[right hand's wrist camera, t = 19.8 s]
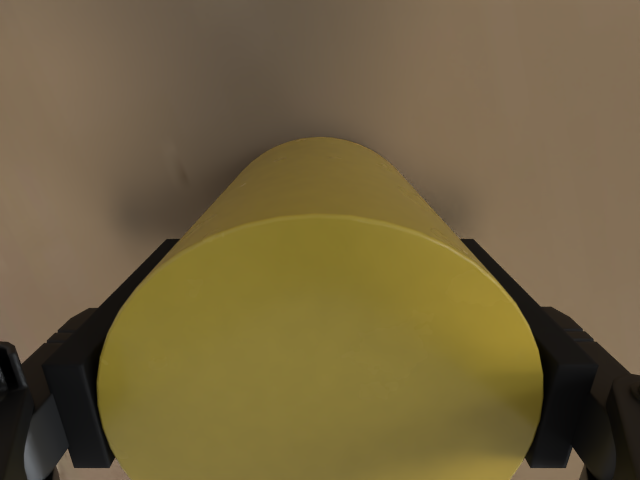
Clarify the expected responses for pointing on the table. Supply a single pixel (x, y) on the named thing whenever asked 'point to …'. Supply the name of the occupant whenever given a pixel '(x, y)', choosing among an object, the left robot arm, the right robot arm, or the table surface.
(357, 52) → the table surface
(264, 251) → the canister
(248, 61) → the table surface
